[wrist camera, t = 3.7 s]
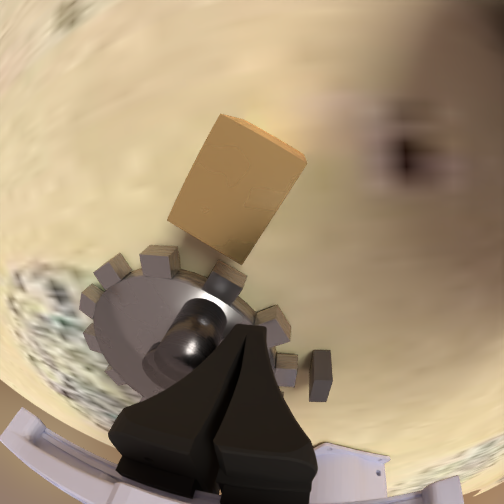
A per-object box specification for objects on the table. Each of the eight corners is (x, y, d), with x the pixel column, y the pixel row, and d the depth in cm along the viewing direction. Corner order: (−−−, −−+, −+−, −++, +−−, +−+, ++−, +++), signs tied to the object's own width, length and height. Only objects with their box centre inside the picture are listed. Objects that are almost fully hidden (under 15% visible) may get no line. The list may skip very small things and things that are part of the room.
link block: (244, 119, 11) (220, 113, 8) (303, 154, 12) (307, 163, 8) (202, 194, 13) (167, 220, 9) (257, 227, 13) (241, 265, 10)
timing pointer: (309, 372, 16) (309, 401, 14) (313, 349, 16) (314, 380, 13) (325, 372, 16) (326, 401, 14) (330, 350, 15) (332, 380, 13)
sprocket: (348, 333, 14) (359, 400, 10) (230, 432, 20) (218, 478, 16) (115, 196, 13) (53, 226, 9) (81, 349, 19) (51, 386, 15)
